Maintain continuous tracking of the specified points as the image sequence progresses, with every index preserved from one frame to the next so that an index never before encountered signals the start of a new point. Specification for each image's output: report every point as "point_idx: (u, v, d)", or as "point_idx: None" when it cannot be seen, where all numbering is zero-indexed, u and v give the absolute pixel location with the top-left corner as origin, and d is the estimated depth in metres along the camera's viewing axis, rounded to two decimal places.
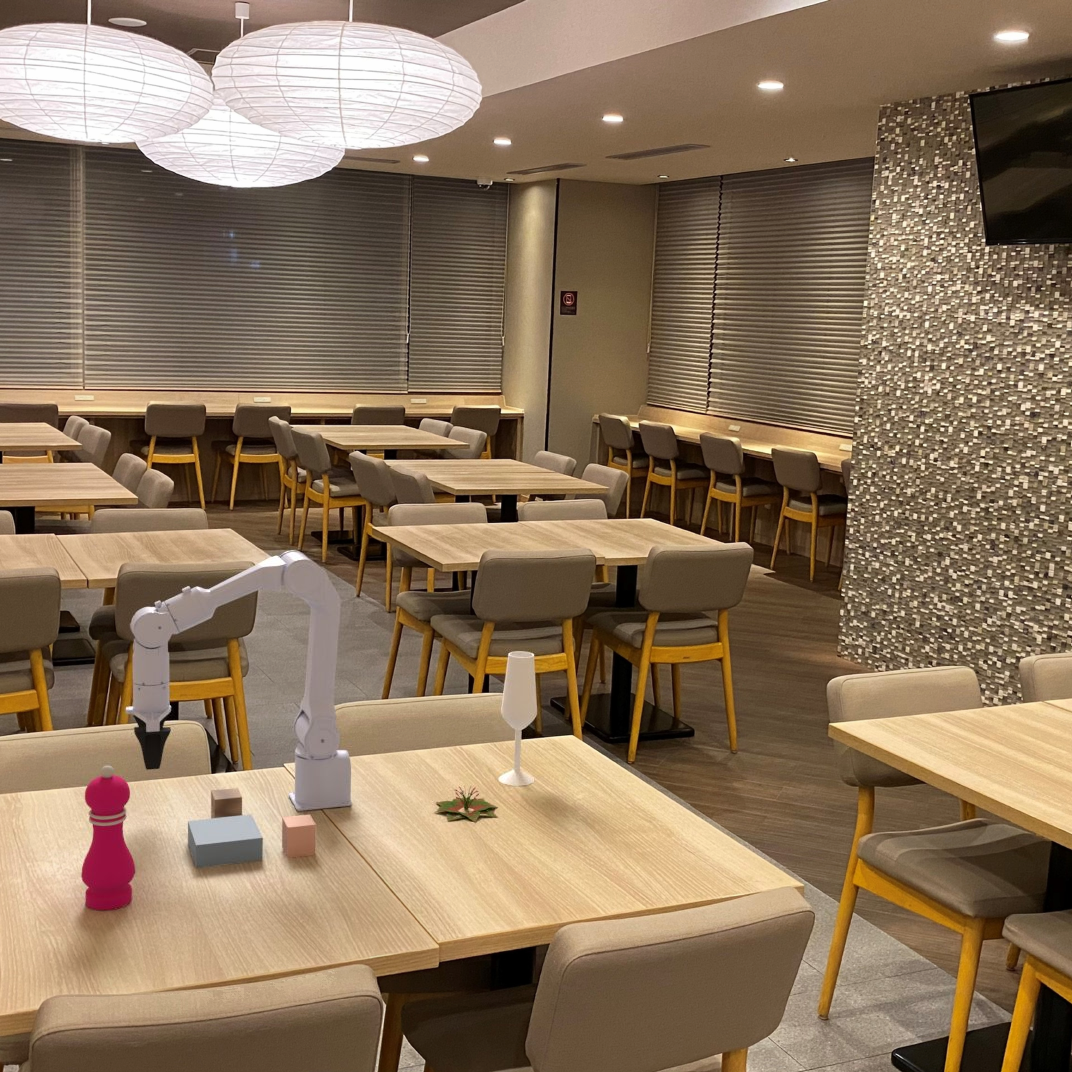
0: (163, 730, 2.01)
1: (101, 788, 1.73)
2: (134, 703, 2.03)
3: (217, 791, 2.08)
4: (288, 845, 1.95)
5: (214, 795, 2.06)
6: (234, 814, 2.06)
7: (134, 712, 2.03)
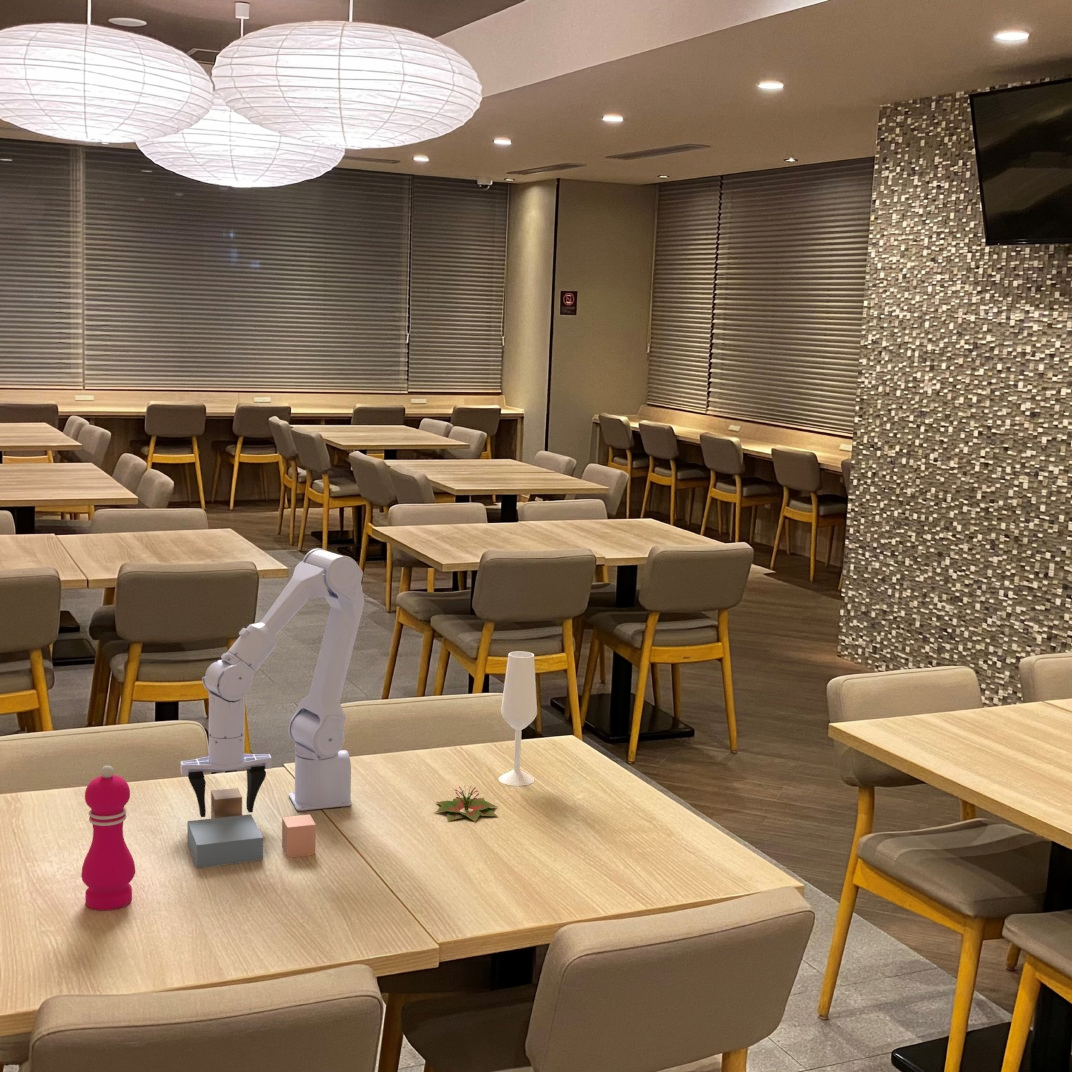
0: (193, 779, 2.03)
1: (101, 788, 1.73)
2: None
3: (217, 791, 2.08)
4: (288, 845, 1.95)
5: (214, 795, 2.06)
6: (234, 814, 2.06)
7: None
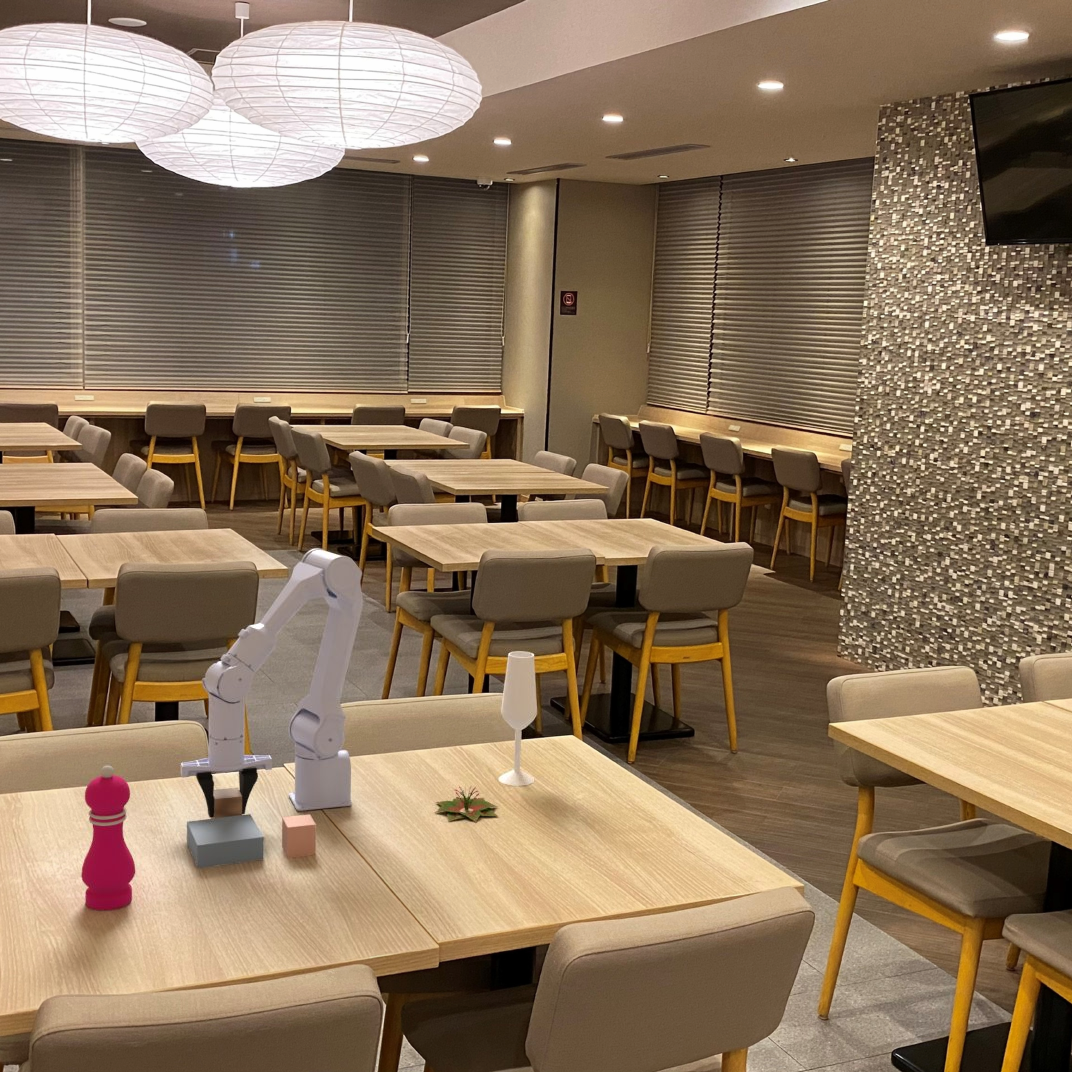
0: (202, 779, 2.04)
1: (101, 788, 1.73)
2: None
3: (217, 790, 2.08)
4: (288, 845, 1.95)
5: (214, 794, 2.06)
6: (234, 813, 2.06)
7: None
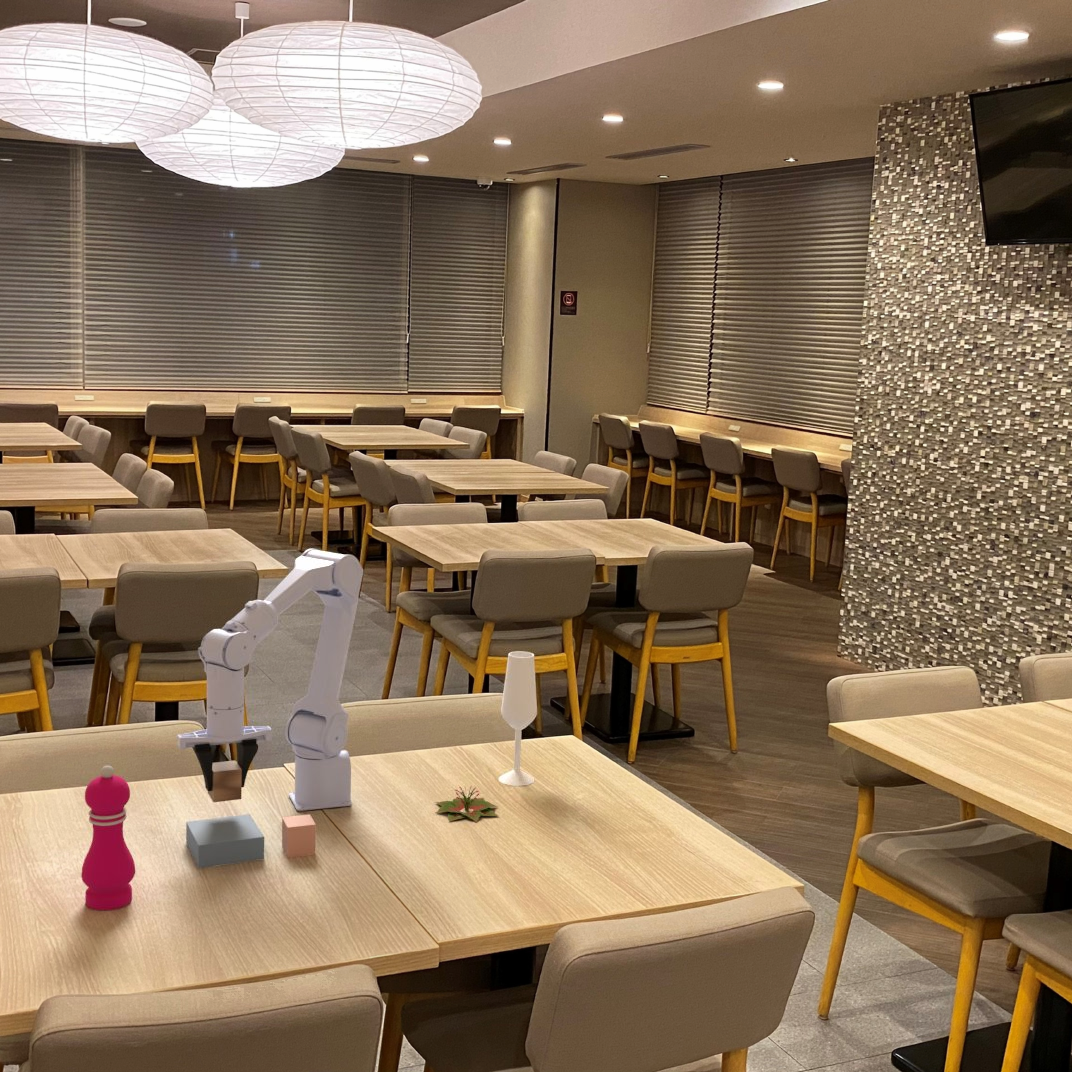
0: (200, 751, 1.96)
1: (101, 788, 1.73)
2: None
3: (214, 764, 2.01)
4: (288, 845, 1.95)
5: (212, 767, 1.99)
6: (234, 787, 1.99)
7: None
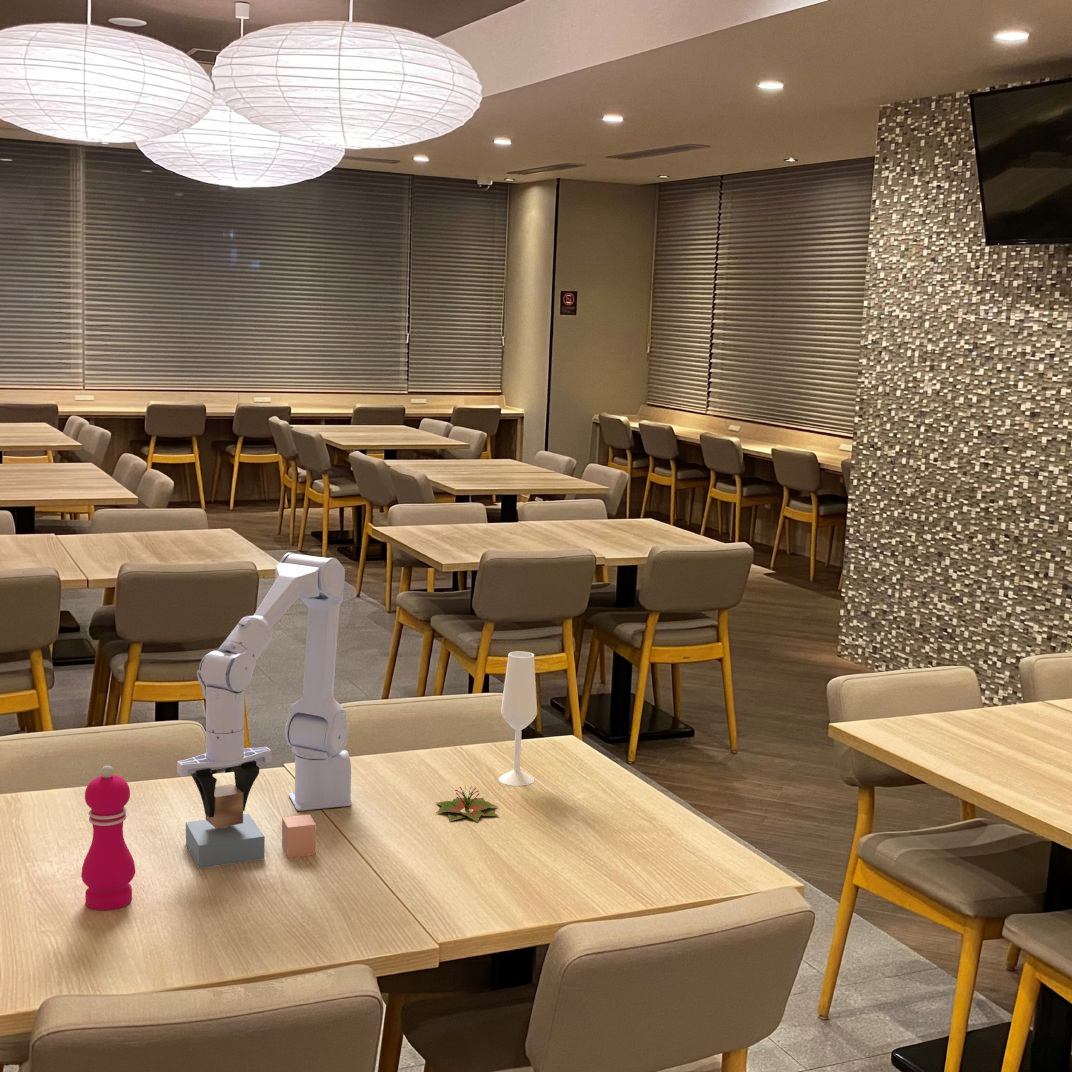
0: (203, 777, 1.91)
1: (101, 788, 1.73)
2: None
3: None
4: (288, 845, 1.95)
5: None
6: (235, 811, 1.94)
7: None
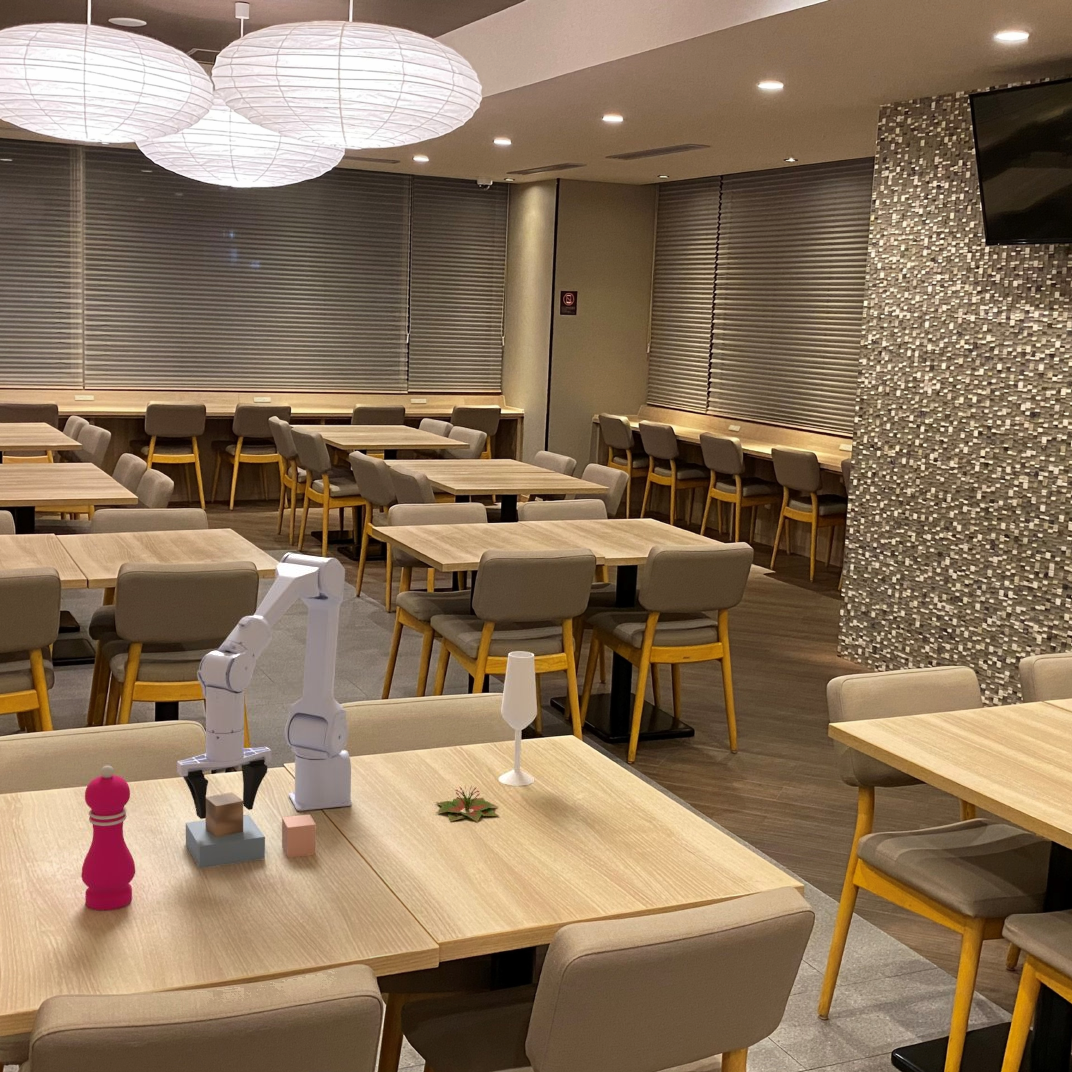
0: (194, 779, 1.90)
1: (101, 788, 1.73)
2: None
3: (212, 797, 1.95)
4: (288, 845, 1.95)
5: (212, 802, 1.94)
6: (236, 820, 1.94)
7: None
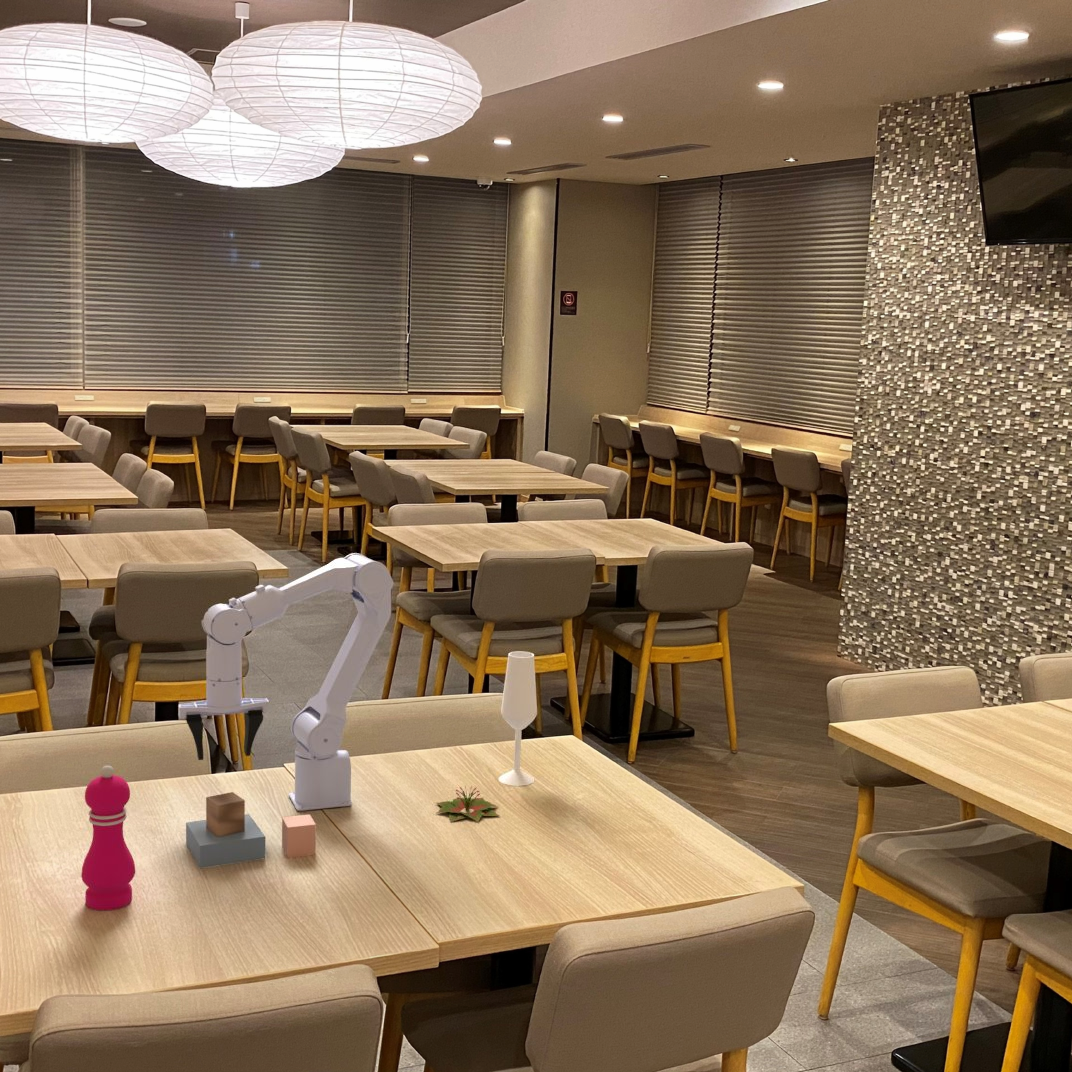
0: (191, 721, 2.05)
1: (101, 788, 1.73)
2: None
3: (213, 797, 1.95)
4: (288, 845, 1.95)
5: (214, 801, 1.94)
6: (237, 819, 1.94)
7: None
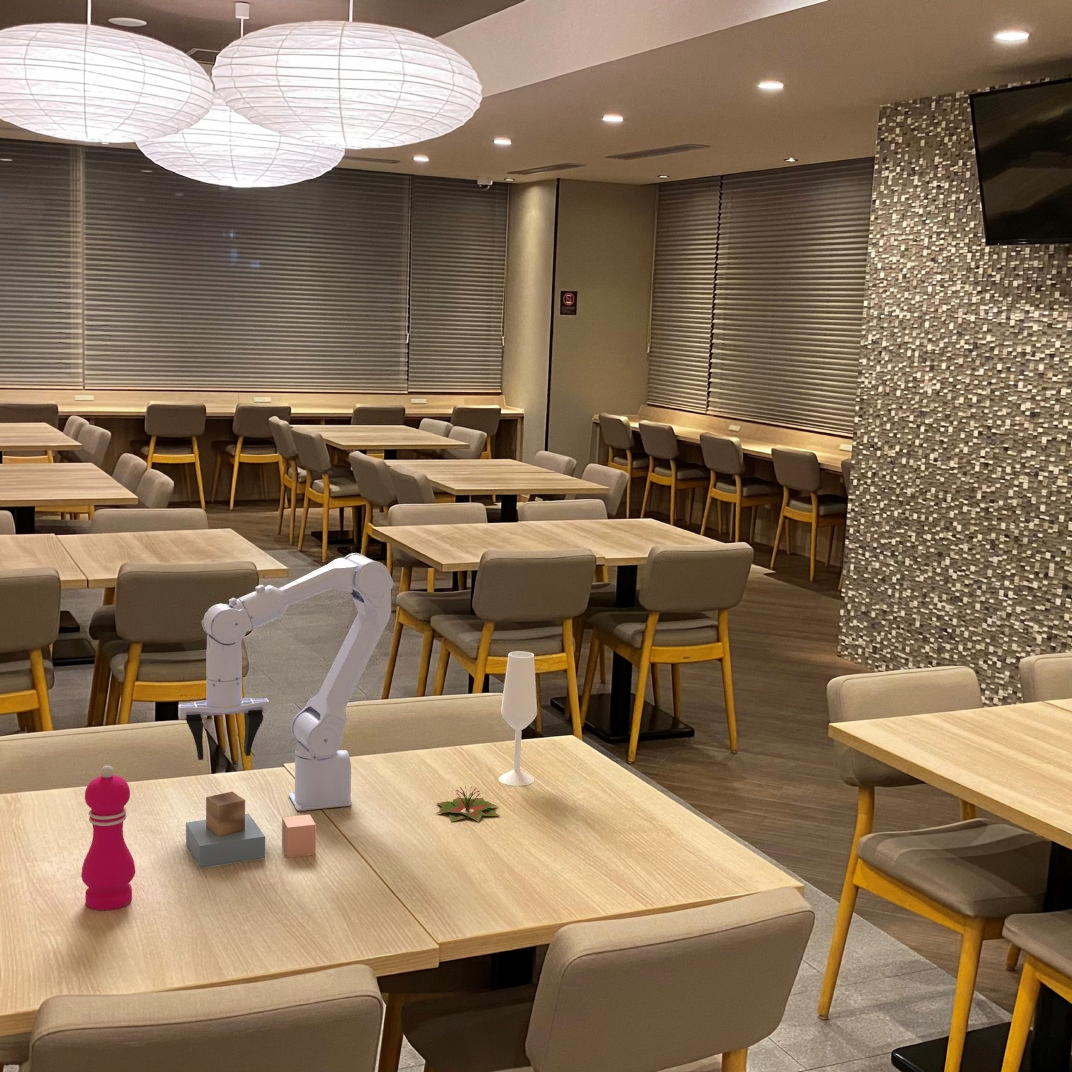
0: (191, 721, 2.05)
1: (101, 788, 1.73)
2: None
3: (213, 797, 1.95)
4: (288, 845, 1.95)
5: (214, 801, 1.94)
6: (238, 819, 1.95)
7: None
